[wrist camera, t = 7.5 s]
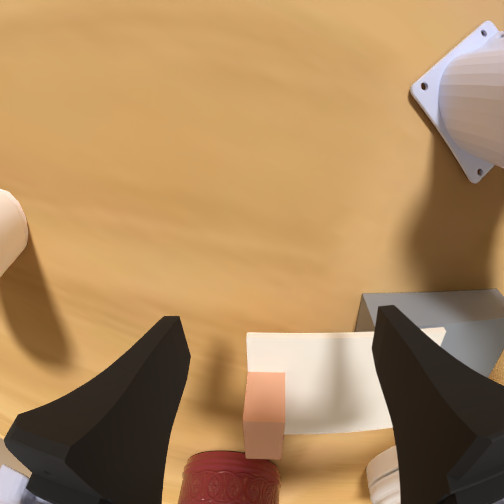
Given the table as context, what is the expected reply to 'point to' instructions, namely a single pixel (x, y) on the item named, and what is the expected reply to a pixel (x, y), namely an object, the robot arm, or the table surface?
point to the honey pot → (384, 478)
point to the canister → (229, 480)
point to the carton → (449, 321)
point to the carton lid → (311, 387)
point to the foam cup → (11, 230)
